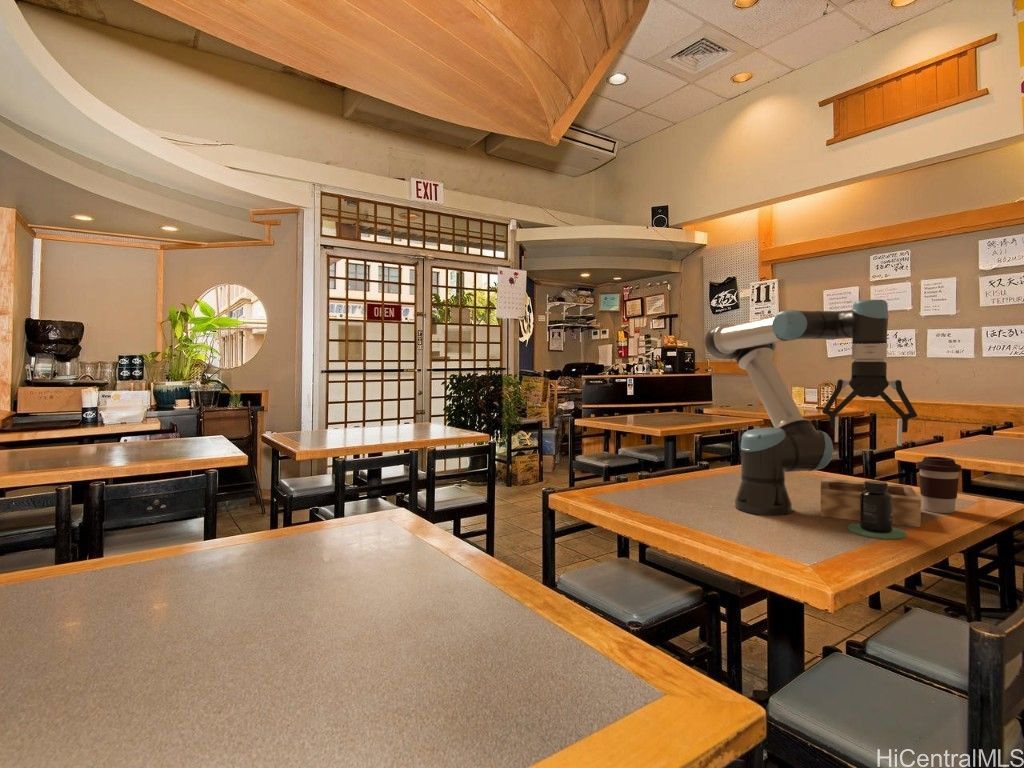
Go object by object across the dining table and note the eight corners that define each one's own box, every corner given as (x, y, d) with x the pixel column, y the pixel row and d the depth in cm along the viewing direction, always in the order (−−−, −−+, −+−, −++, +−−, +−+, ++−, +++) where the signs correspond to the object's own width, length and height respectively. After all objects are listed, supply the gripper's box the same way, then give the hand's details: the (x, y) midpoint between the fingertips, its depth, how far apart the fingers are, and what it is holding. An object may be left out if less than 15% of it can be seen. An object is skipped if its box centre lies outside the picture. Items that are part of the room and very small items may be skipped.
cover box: (820, 516, 152) (820, 491, 151) (820, 501, 168) (820, 478, 168) (920, 526, 140) (920, 499, 140) (910, 509, 157) (910, 485, 157)
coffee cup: (944, 506, 160) (945, 455, 160) (969, 515, 151) (970, 461, 150) (908, 505, 161) (909, 455, 161) (931, 514, 151) (931, 461, 151)
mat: (849, 535, 134) (849, 533, 134) (847, 523, 145) (847, 520, 145) (909, 542, 128) (909, 540, 128) (902, 529, 139) (902, 526, 139)
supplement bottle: (899, 533, 133) (899, 484, 133) (871, 534, 133) (871, 485, 133) (880, 525, 140) (880, 479, 140) (853, 525, 140) (853, 479, 140)
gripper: (812, 361, 143) (811, 441, 144) (932, 360, 130) (929, 449, 131) (813, 360, 149) (812, 437, 150) (927, 360, 136) (925, 444, 137)
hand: (867, 443), depth 141 cm, fingers open, 13 cm apart
